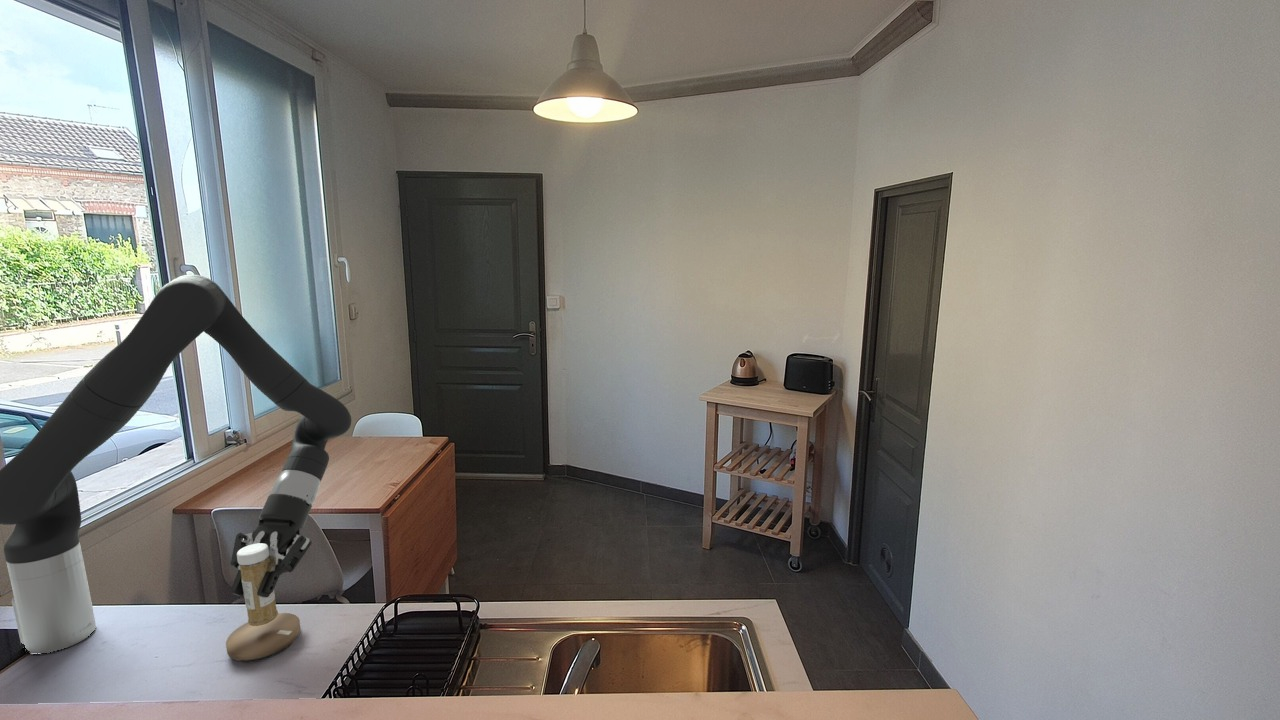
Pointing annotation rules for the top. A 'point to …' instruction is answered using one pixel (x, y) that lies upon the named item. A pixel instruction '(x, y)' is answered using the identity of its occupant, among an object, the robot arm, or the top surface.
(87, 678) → the top surface
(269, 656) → the turntable base
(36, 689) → the top surface
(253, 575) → the sprinkles bottle
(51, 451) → the robot arm
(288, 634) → the disc
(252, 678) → the top surface
